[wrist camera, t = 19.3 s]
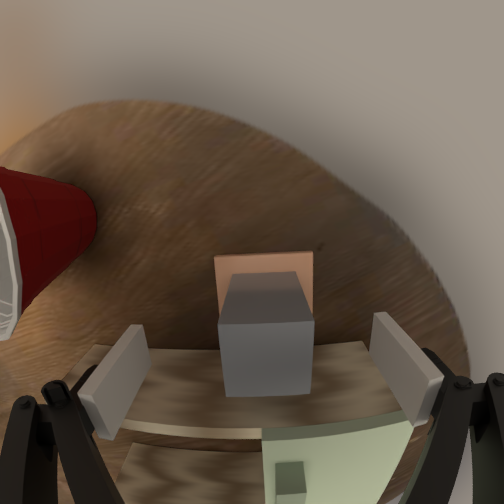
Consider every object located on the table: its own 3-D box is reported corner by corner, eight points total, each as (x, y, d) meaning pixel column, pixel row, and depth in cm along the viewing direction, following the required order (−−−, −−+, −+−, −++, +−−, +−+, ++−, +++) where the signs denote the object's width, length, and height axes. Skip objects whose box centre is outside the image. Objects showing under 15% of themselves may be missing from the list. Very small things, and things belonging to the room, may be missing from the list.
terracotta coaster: (223, 339, 23) (222, 343, 23) (215, 255, 22) (213, 257, 21) (310, 335, 23) (311, 339, 22) (311, 250, 21) (312, 252, 21)
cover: (267, 525, 18) (267, 553, 14) (261, 428, 14) (261, 475, 11) (363, 513, 17) (369, 539, 14) (412, 407, 14) (433, 444, 10)
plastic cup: (14, 204, 21) (-81, 224, 9) (86, 130, 20) (-25, 109, 8) (64, 301, 23) (-21, 365, 11) (147, 244, 22) (50, 304, 10)
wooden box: (135, 447, 27) (112, 502, 18) (94, 344, 24) (44, 399, 15) (342, 449, 26) (358, 511, 18) (361, 340, 23) (401, 409, 14)
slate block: (236, 329, 22) (225, 396, 14) (232, 273, 21) (217, 324, 13) (295, 327, 22) (310, 393, 14) (295, 271, 21) (314, 320, 13)
